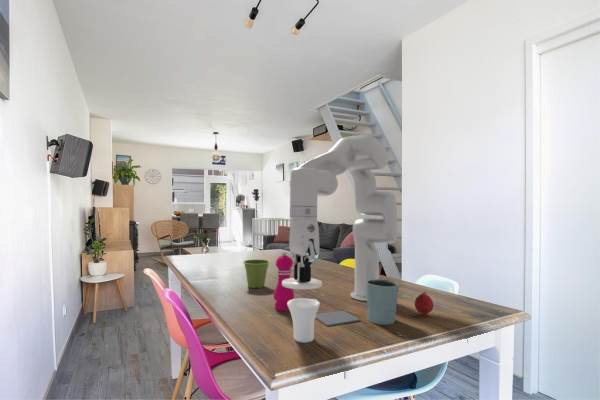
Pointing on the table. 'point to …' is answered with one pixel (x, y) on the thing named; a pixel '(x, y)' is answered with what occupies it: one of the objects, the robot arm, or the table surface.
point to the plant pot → (256, 272)
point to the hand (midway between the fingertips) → (302, 279)
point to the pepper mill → (281, 292)
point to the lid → (301, 285)
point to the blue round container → (381, 301)
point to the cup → (303, 318)
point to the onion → (424, 304)
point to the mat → (336, 318)
